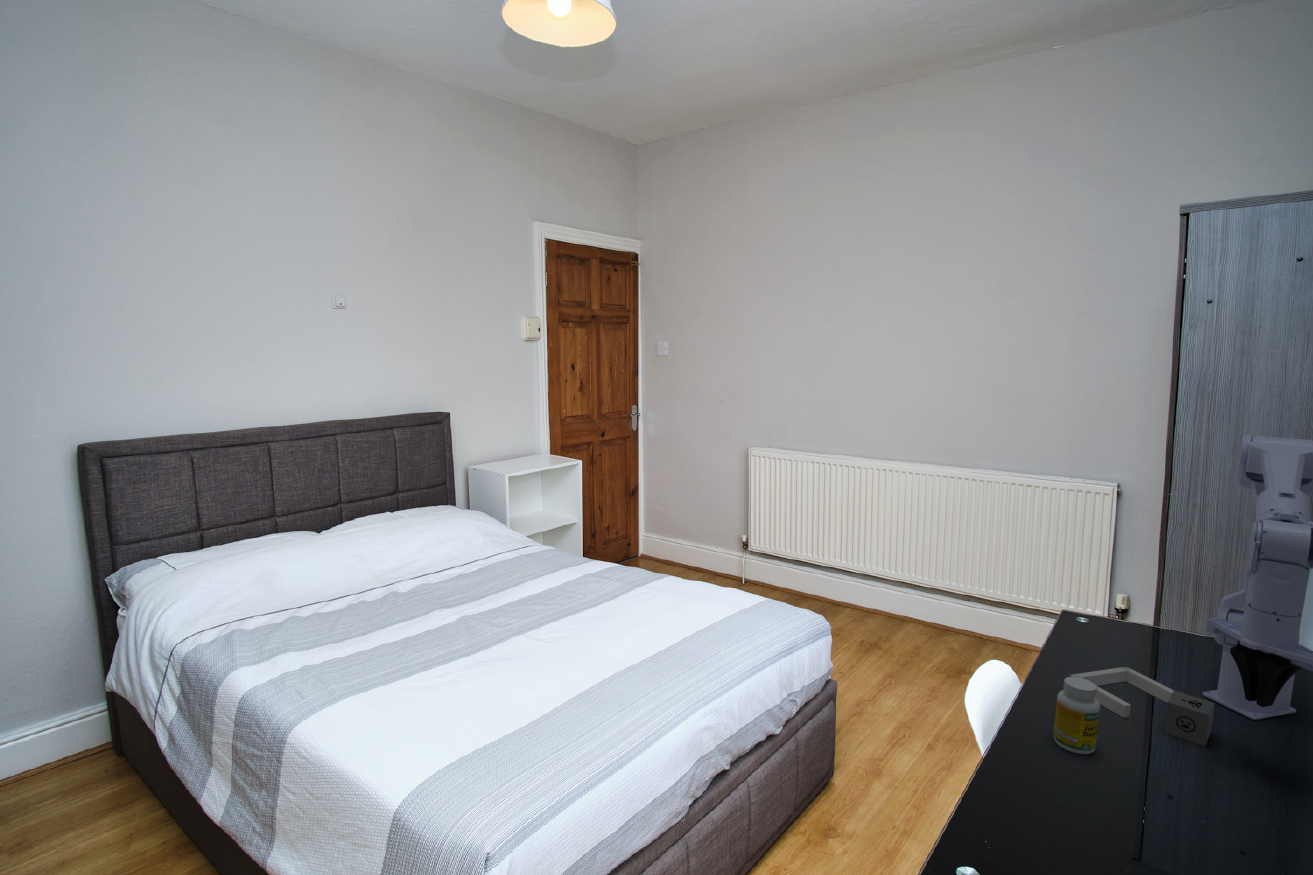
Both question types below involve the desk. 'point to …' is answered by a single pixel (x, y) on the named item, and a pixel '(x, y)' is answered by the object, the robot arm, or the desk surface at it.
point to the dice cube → (1189, 718)
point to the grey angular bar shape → (1123, 676)
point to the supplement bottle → (1077, 716)
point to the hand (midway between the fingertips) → (1258, 702)
